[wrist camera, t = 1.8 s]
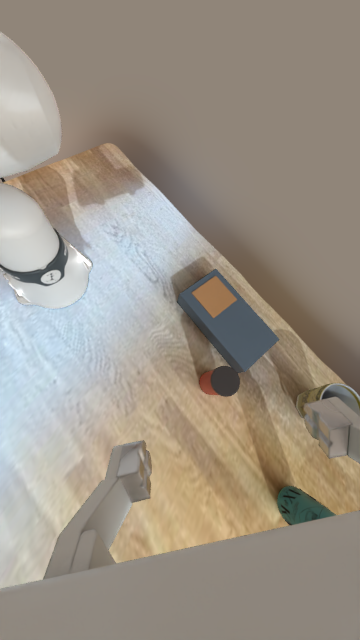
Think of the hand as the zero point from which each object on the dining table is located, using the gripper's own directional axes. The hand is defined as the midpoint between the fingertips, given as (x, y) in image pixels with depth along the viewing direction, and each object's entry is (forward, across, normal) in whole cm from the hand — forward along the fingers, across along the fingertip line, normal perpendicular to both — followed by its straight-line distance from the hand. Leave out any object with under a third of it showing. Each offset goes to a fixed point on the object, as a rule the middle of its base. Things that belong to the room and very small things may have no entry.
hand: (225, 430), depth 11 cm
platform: (+43, -9, +13) cm, 46 cm away
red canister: (+34, -2, +23) cm, 41 cm away
